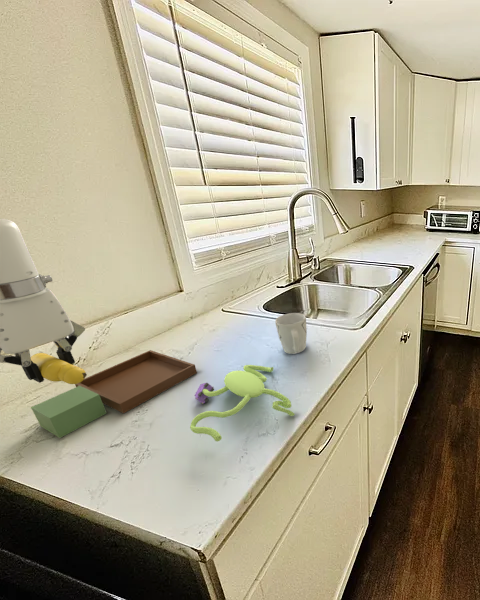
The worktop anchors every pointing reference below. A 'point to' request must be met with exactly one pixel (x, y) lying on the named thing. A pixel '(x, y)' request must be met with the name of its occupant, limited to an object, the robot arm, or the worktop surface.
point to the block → (69, 411)
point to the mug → (292, 332)
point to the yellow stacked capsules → (58, 369)
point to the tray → (137, 379)
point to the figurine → (241, 385)
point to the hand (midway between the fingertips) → (54, 373)
